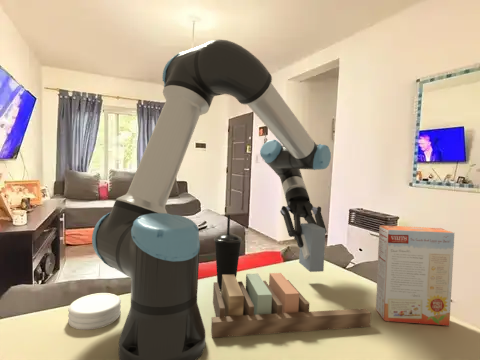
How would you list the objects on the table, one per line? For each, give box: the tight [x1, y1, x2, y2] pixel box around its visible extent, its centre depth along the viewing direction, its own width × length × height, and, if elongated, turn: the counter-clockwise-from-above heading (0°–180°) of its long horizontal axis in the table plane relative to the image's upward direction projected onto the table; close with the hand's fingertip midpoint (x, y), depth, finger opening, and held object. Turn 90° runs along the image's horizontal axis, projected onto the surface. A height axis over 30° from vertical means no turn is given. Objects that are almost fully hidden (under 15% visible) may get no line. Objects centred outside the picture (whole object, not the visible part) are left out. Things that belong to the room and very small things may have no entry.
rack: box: [210, 279, 372, 339], centre depth 66 cm, size 34×14×5 cm, turn 101°
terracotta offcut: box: [268, 272, 299, 313], centre depth 67 cm, size 3×12×7 cm, turn 11°
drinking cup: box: [213, 214, 243, 291], centre depth 80 cm, size 8×8×20 cm
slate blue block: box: [298, 222, 327, 273], centre depth 85 cm, size 4×8×12 cm, turn 10°
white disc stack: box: [67, 292, 122, 331], centre depth 62 cm, size 10×10×4 cm
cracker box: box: [375, 224, 455, 327], centre depth 67 cm, size 14×6×21 cm, turn 84°
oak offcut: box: [220, 274, 244, 316], centre depth 65 cm, size 3×12×7 cm, turn 11°
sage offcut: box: [245, 273, 272, 315], centre depth 66 cm, size 3×12×7 cm, turn 11°
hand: (314, 256), depth 83 cm, fingers closed on slate blue block, 4 cm apart
